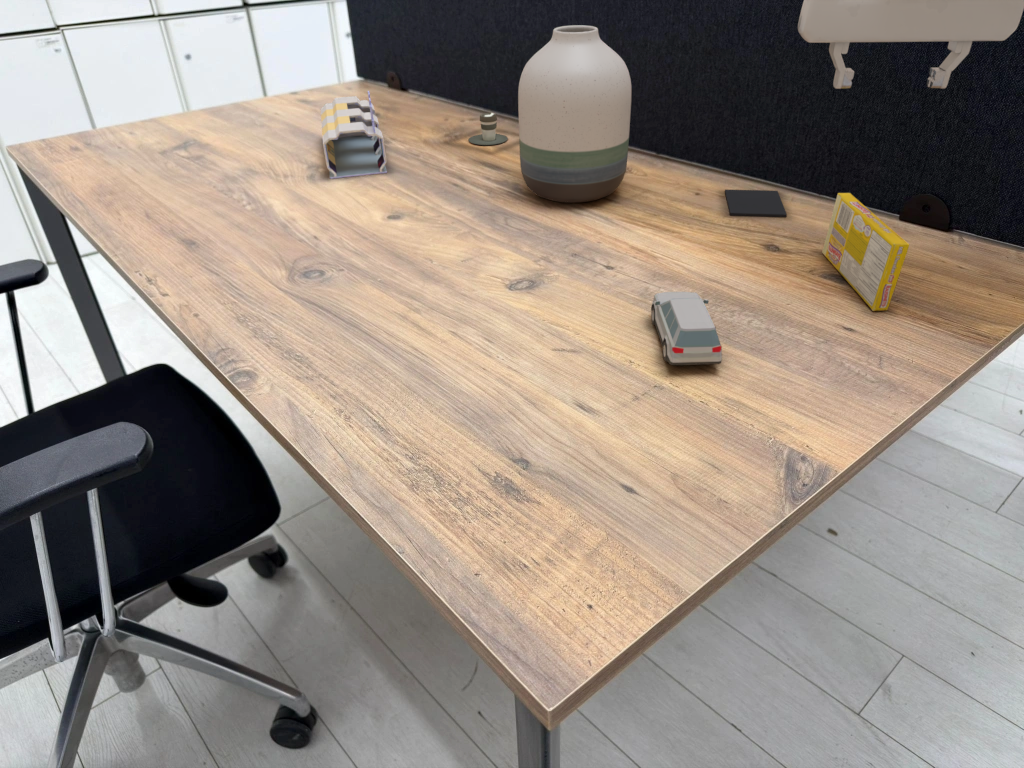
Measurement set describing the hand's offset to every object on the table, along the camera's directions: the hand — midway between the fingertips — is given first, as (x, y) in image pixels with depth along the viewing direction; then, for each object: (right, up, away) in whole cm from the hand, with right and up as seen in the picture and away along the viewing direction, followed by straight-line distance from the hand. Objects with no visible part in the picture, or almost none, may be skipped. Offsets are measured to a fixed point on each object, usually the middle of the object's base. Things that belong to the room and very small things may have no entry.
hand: (888, 87), depth 76 cm
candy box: (+2, -19, +12) cm, 23 cm away
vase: (-30, -1, +40) cm, 50 cm away
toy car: (-21, -27, +2) cm, 35 cm away
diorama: (-70, +12, +61) cm, 93 cm away
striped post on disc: (-44, +17, +66) cm, 81 cm away
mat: (-3, -4, +34) cm, 34 cm away
